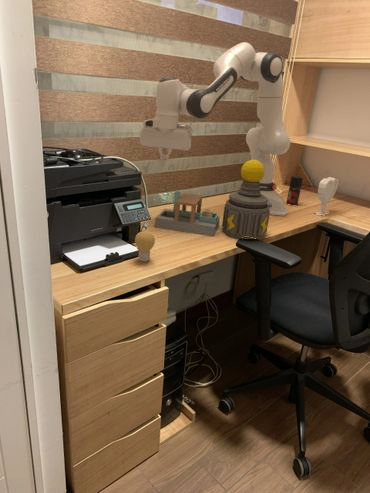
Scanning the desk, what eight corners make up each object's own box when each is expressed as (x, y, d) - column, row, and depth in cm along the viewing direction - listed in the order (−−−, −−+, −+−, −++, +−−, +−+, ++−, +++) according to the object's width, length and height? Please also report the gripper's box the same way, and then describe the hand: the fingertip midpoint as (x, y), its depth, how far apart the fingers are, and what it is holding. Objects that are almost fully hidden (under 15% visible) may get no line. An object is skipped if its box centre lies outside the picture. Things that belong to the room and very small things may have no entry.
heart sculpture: (320, 217, 187) (328, 181, 180) (310, 214, 190) (318, 179, 184) (332, 211, 198) (341, 177, 191) (323, 209, 201) (331, 175, 194)
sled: (217, 218, 158) (220, 195, 155) (215, 223, 152) (218, 199, 148) (175, 211, 162) (176, 189, 158) (171, 216, 156) (172, 193, 152)
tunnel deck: (218, 225, 163) (222, 198, 159) (213, 236, 150) (217, 207, 146) (164, 217, 168) (166, 190, 163) (154, 226, 155) (156, 198, 150)
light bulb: (140, 265, 121) (141, 236, 117) (130, 258, 125) (131, 230, 122) (157, 262, 124) (159, 233, 120) (147, 254, 129) (148, 227, 125)
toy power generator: (275, 235, 158) (288, 162, 146) (248, 244, 145) (260, 166, 134) (239, 222, 170) (249, 154, 158) (211, 230, 157) (220, 156, 146)
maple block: (212, 219, 158) (213, 210, 156) (210, 222, 154) (211, 212, 152) (203, 217, 158) (203, 208, 157) (201, 220, 155) (202, 211, 153)
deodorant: (299, 204, 206) (304, 177, 200) (294, 206, 201) (299, 178, 196) (289, 202, 209) (294, 175, 203) (284, 203, 205) (289, 176, 199)
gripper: (194, 125, 147) (191, 161, 152) (144, 120, 150) (143, 155, 156) (191, 126, 141) (188, 163, 146) (138, 121, 145) (137, 157, 150)
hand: (164, 159), depth 151 cm, fingers closed
